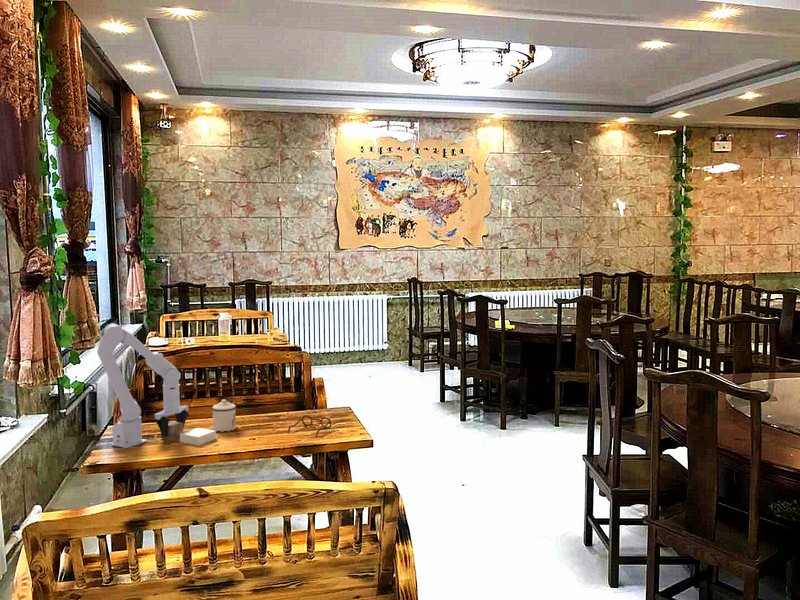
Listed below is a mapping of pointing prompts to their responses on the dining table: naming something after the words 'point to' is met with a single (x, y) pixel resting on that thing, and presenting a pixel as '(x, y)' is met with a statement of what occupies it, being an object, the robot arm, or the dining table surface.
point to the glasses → (311, 423)
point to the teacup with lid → (224, 416)
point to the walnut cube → (174, 430)
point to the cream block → (198, 436)
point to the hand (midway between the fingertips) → (172, 433)
